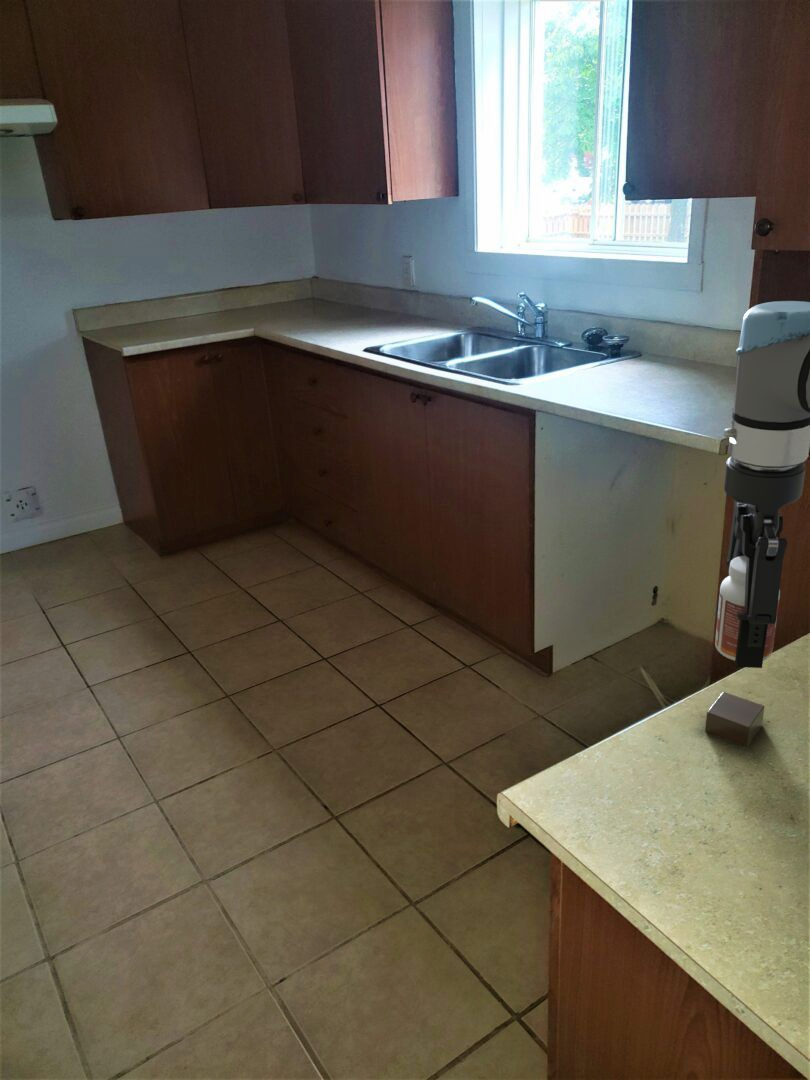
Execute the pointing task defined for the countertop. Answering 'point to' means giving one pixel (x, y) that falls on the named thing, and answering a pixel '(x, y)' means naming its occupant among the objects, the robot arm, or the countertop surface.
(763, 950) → the countertop surface
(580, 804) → the countertop surface
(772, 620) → the robot arm
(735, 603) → the pill bottle
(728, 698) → the walnut block
